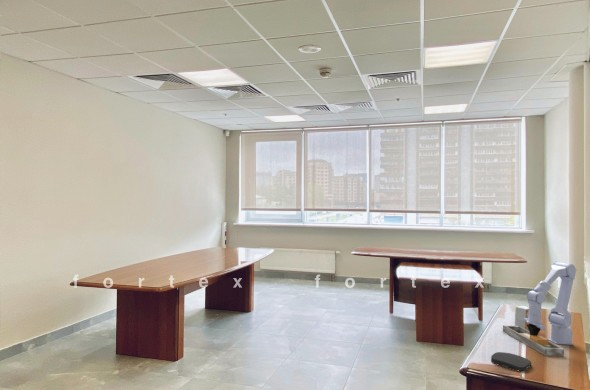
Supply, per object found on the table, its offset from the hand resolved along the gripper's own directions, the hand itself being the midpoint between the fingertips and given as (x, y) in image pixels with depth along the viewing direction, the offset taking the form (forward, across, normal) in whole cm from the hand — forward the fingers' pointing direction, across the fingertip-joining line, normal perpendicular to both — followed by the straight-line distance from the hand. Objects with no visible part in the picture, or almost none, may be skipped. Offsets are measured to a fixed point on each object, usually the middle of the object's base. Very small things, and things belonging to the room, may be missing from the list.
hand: (533, 338), depth 212 cm
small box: (+3, -27, +12) cm, 30 cm away
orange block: (+1, +4, 0) cm, 4 cm away
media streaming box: (+3, +28, -30) cm, 41 cm away
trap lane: (+3, -2, 0) cm, 3 cm away
